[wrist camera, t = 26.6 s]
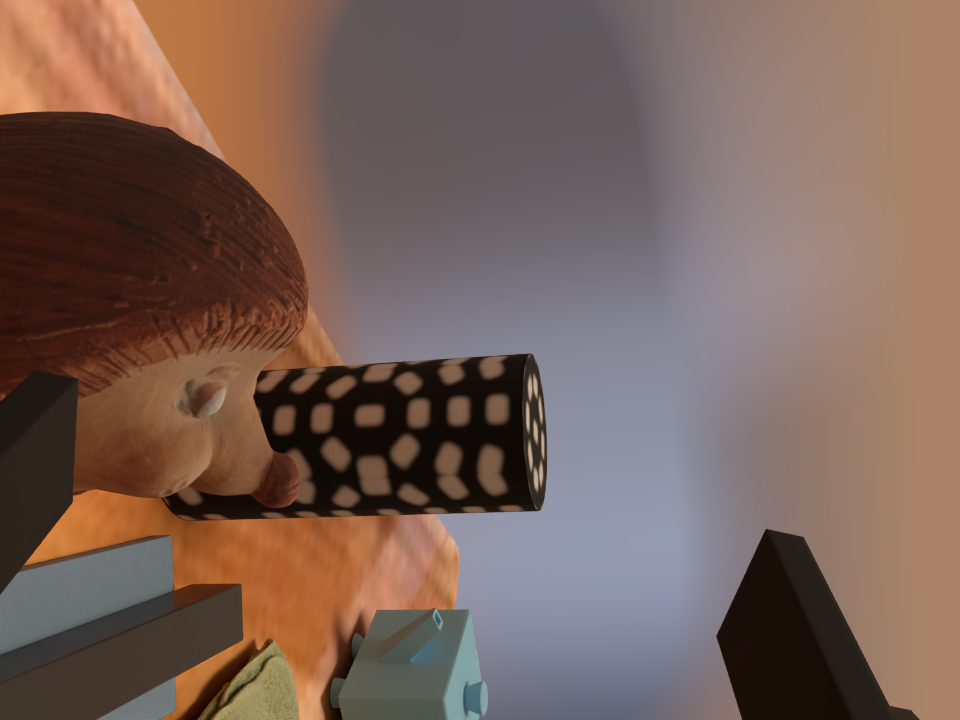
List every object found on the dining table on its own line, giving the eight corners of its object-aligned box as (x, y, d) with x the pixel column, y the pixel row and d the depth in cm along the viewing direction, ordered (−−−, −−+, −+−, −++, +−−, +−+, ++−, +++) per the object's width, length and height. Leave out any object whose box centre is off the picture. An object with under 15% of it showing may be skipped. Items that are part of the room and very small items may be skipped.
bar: (-195, 829, 26) (-111, 834, 26) (-195, 726, 26) (-112, 728, 26) (192, 640, 48) (243, 640, 47) (191, 584, 48) (241, 583, 47)
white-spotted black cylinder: (235, 402, 56) (546, 384, 52) (218, 532, 53) (547, 525, 49) (164, 354, 49) (522, 328, 45) (141, 503, 46) (522, 490, 41)
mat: (-156, 891, 28) (-129, 893, 28) (-155, 608, 29) (-129, 607, 29) (159, 709, 46) (176, 710, 46) (155, 535, 47) (172, 535, 46)
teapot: (361, 557, 77) (487, 555, 75) (394, 721, 83) (512, 724, 81) (296, 682, 62) (450, 684, 60) (342, 870, 68) (484, 878, 66)
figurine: (-102, 646, 31) (298, 648, 28) (-391, 226, 23) (119, 165, 20) (105, 416, 43) (399, 399, 40) (-39, 90, 35) (311, 38, 32)
